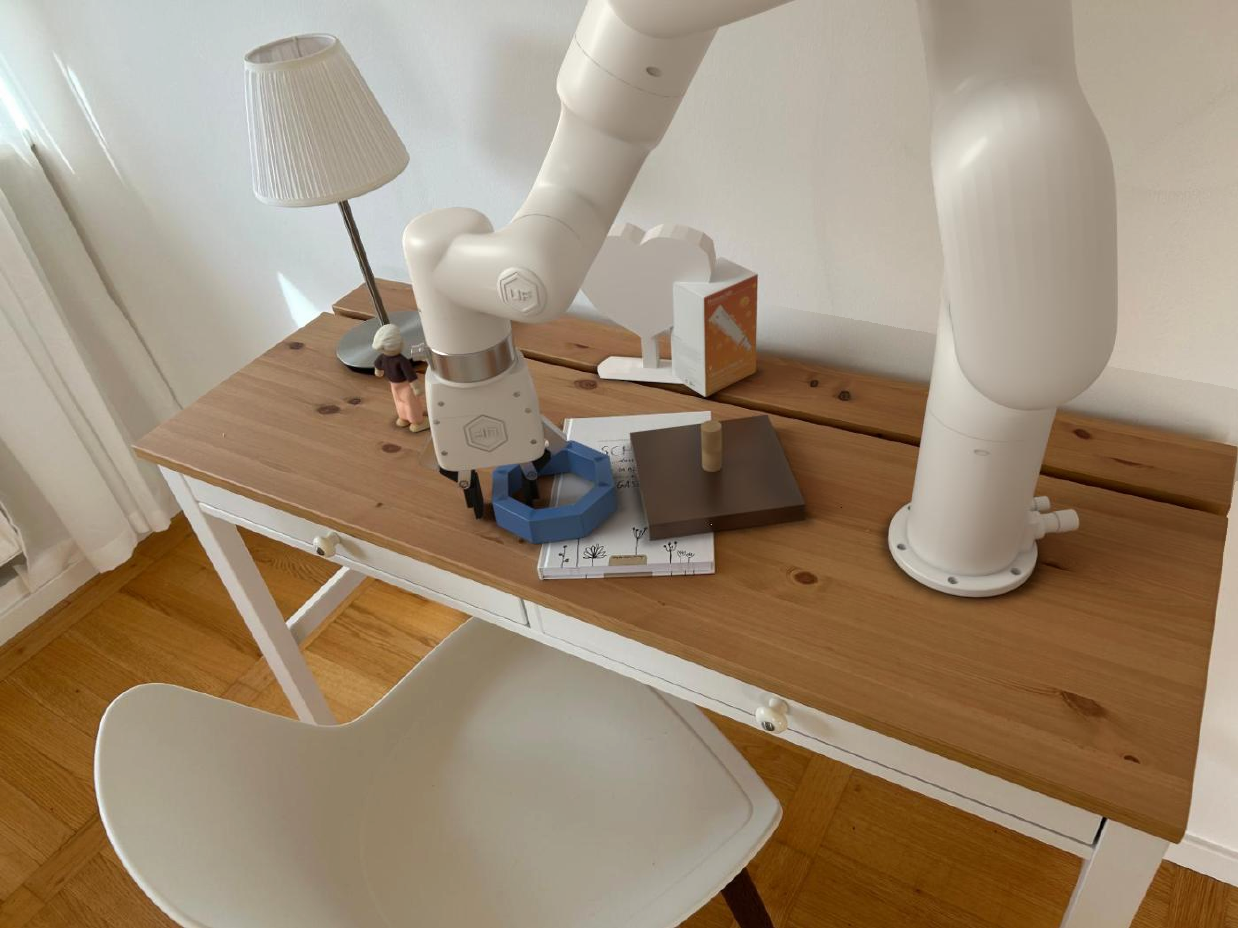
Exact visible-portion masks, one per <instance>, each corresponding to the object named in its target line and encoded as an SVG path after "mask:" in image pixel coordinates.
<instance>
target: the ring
mask: <svg viewBox="0 0 1238 928" xmlns="http://www.w3.org/2000/svg"><path fill="white" fill-rule="evenodd" d="M565 473H572V474H575V475H577V476H579V477H582V478H584V479H585V480H588V481H590V482H592V483H594V484H596V485H595V486H594V487H592V488H591V489H590V490H589V491H587V492H586V493H585V494H584V495H583V496H582V497H580V498H579V499H578V500H577V501H576V502H575V503H573V504H568V505H559V506H552V507H551V506H550V507H545V508H537V509H535V508H534V509H533V508H531V507H529V506H527V505H526V504H525V503H523V502H521V501H519V500H516V499H515V498H513V495H514V494H516V493H517V492H518V491H520V490H522V489H523V488H522V482H521V467H520V465H519V464H512V465H504V466H497V467H495V469H493V470H492V473H491V491H492V493H491V494H492V495H491V503H492V507H493V512H494V517H495V521H496V525H497V526H499V527H500V528H502V529H504V530H506V531H507V532H510V533H512V534H514V535H515V536H518V537H519V538H521V539H524V540H525V541H527V542H529V543H531V544H533V545H538V544H546V543H552V542H553V543H554V542H561V541H569V540H575V539H583V538H586V537H587V536H588V535H589V534H590V533H591V532H593V531H594V530H595V529H596V528H597V527H598V526H600V525H601V524H602V523H603V522H604V521H605V520H606V519H608V518H609V516H611V515H612V514H613V513H614V512H616V511H617V509H618V506H617V496H616V487H615V480H614V475H613V468H612V463H611V457H610V455H608V454H606V453H604V452H601V451H600V450H597V449H594V448H592V447H589V446H587V445H585V444H583V443H580V442H578V441H575V440H573V439H571V440H570V439H569V440H567V446H566V447H565V448H564V449H562V450H561V451H560V452H559V453H557V454H556V455H553V456H552V457H551V460H550V461H549V462H548V463H547V464H546V465H545V466H544V467H543V468H542V469H541V470H540V472H539V473H538V477H541V476H542V477H543V476H549V475H556V474H557V475H558V474H565Z"/></svg>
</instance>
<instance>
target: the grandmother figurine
mask: <svg viewBox="0 0 1238 928" xmlns="http://www.w3.org/2000/svg"><path fill="white" fill-rule="evenodd" d="M401 335H402V332H401V330H400V327H399V326H397V325H396V324H394V323H388V324H387V323H386V324H384V325H383V326H381V327H379V328H378V330H377V331H376V333H375V335H374V337H373V343H372V345H371V346H372V349H373V350H374V351H381V352H382V353H381V354H379V355H378V356H377V357H376V358H375V360H374V361H373V365H374V374H375V376H376V377H379V378H381V377H383V376H385V378H386V380H388V382H389V384H390V387H391V393H392V397H393V401H394V404H395V407H396V412H397V414H398V418H397V420H396V425H397V427H402V428H404V427H407V426H409V430H410V431H411V432H412V433H418V432H421V431H423V430H428V429H429V428H431V427H430V422H429V416H426V415H423V414H424V412H425V407H424V405H423V403H422V401H421V398H420V397H421V396H422V395H423V394H424V390H423V388H422V387H421V383H420V380H419V377H418V375H417V372H416V371H415V370H414V367H413V366H412V363H411V361H410V359H409V358H407V357H406V355H403V353H402V351H403V349H404V340H403V338H402V336H401Z"/></svg>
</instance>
